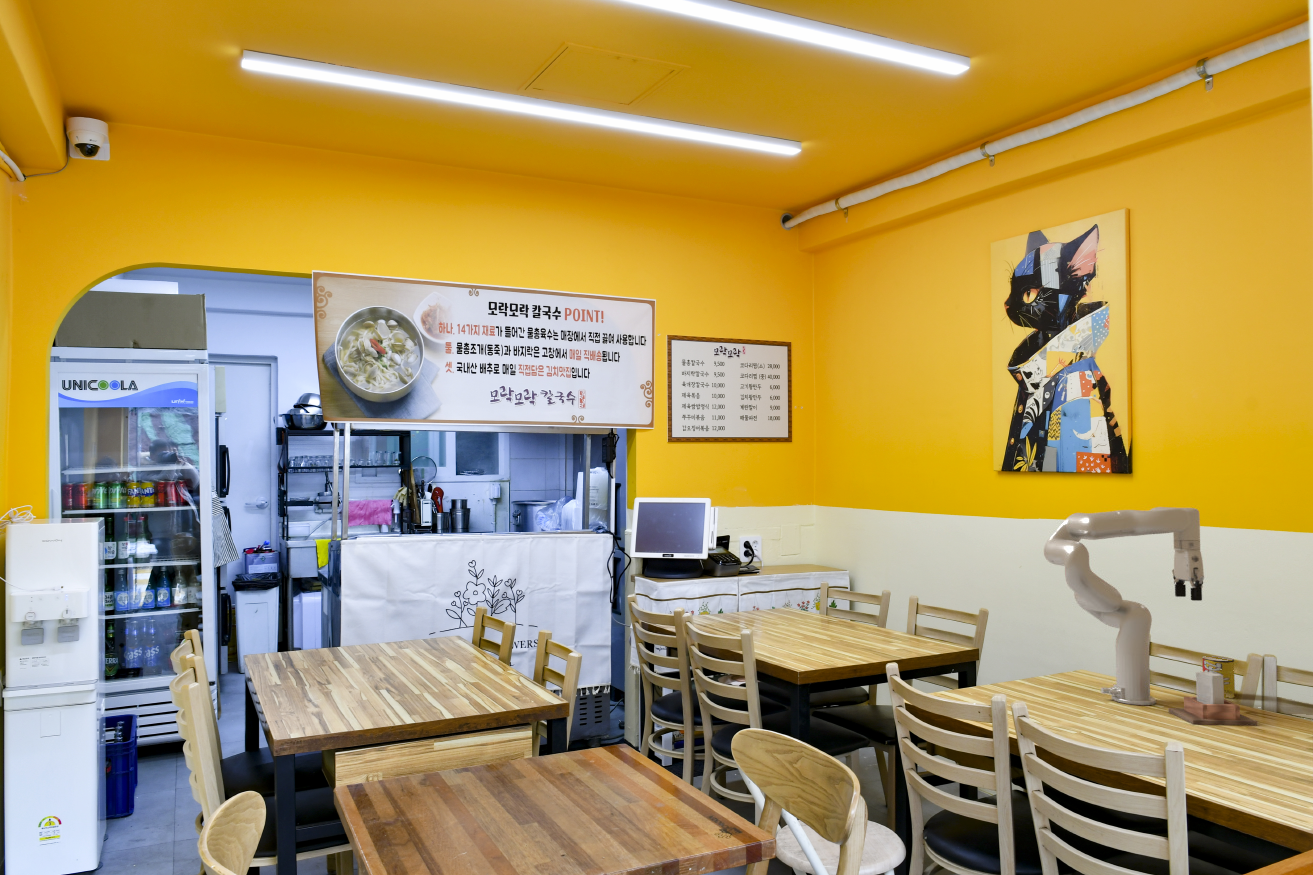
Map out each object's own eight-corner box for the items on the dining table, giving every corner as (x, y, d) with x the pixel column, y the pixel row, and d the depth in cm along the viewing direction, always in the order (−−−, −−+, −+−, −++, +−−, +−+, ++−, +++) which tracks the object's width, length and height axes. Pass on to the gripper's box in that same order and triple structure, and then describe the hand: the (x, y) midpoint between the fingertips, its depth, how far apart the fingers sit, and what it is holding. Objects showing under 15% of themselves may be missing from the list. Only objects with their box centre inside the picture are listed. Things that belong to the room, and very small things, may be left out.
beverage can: (1201, 690, 305) (1200, 654, 305) (1232, 693, 301) (1231, 657, 301) (1204, 696, 296) (1203, 659, 297) (1237, 699, 293) (1236, 661, 293)
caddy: (1193, 724, 262) (1192, 706, 262) (1168, 712, 276) (1168, 694, 276) (1257, 725, 261) (1256, 707, 261) (1229, 712, 275) (1228, 695, 275)
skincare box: (1225, 716, 267) (1224, 675, 267) (1213, 717, 266) (1212, 675, 266) (1207, 711, 273) (1206, 670, 273) (1196, 711, 272) (1195, 671, 272)
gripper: (1213, 547, 287) (1215, 602, 286) (1184, 543, 304) (1186, 595, 303) (1189, 547, 287) (1190, 601, 286) (1161, 543, 305) (1163, 595, 304)
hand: (1188, 598), depth 295 cm, fingers open, 9 cm apart
